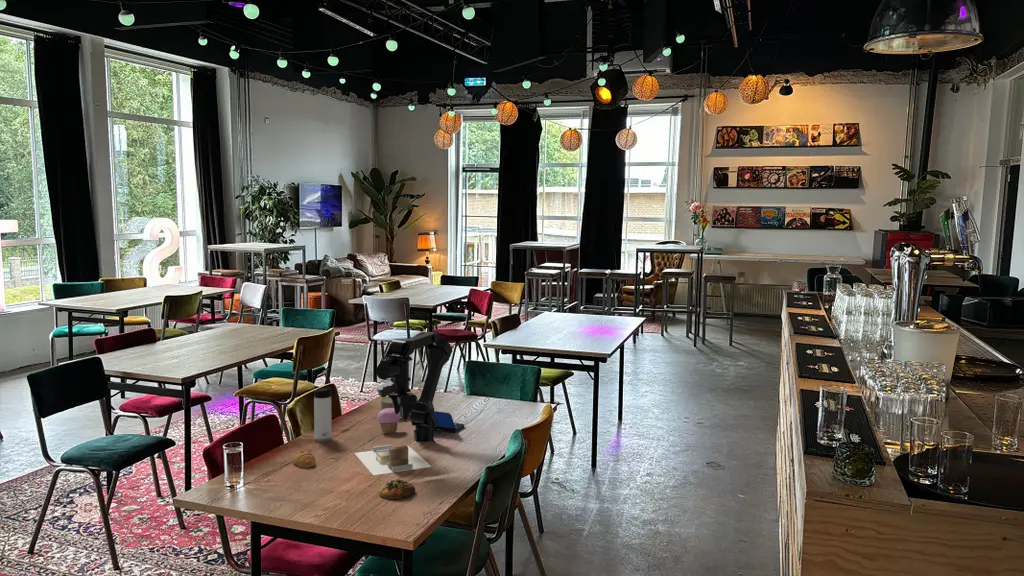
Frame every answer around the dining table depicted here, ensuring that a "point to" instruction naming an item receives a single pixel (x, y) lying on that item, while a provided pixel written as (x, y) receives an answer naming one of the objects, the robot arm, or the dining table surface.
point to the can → (388, 404)
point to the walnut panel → (398, 456)
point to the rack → (377, 468)
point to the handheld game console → (447, 422)
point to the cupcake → (388, 420)
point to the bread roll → (397, 490)
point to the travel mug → (322, 414)
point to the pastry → (304, 459)
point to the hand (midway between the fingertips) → (400, 417)
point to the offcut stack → (382, 457)
